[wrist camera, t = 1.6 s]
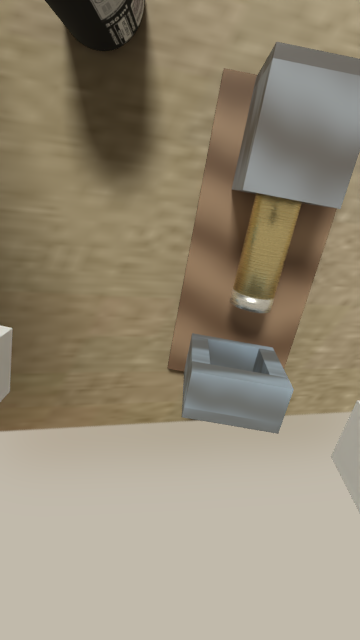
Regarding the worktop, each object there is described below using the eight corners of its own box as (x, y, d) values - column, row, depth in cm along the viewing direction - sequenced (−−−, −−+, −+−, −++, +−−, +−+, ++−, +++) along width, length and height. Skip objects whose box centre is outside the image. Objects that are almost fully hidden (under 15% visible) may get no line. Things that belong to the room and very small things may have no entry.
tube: (275, 96, 26) (287, 82, 23) (322, 105, 26) (341, 93, 23) (227, 295, 32) (231, 308, 28) (266, 302, 32) (274, 316, 29)
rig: (222, 72, 28) (235, 24, 20) (365, 102, 28) (438, 66, 20) (168, 363, 38) (161, 413, 29) (275, 381, 38) (298, 437, 30)
